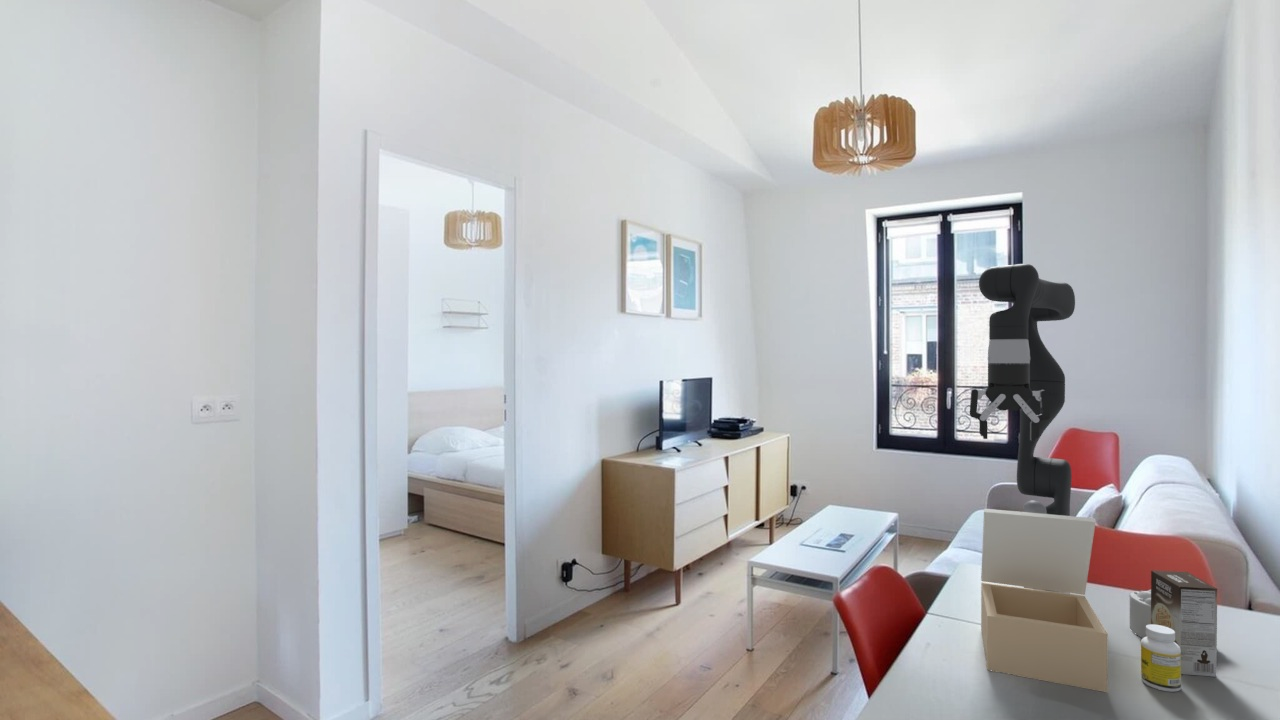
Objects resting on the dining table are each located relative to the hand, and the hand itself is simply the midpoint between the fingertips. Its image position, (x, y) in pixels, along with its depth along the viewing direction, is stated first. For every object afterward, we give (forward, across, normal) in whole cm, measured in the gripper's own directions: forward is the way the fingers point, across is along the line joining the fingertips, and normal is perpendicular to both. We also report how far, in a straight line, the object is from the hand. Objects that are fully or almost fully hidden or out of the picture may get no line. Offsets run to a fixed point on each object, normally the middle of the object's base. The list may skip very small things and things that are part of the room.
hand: (1008, 439), depth 132 cm
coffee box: (+40, -28, +2) cm, 49 cm away
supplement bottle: (+40, -22, +13) cm, 48 cm away
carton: (+40, -4, +10) cm, 42 cm away
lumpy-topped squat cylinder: (+40, -29, -11) cm, 51 cm away
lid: (+21, -4, +6) cm, 23 cm away
